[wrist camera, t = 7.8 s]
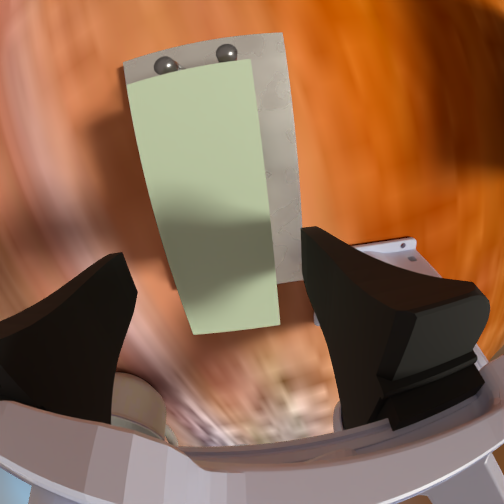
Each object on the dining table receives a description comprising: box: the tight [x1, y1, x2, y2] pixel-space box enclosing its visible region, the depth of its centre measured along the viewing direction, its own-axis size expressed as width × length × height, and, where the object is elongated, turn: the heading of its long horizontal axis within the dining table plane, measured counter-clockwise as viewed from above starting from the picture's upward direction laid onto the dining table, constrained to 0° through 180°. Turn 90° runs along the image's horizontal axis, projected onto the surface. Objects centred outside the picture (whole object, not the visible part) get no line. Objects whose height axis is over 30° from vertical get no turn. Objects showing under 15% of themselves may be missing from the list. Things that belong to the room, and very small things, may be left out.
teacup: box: [111, 372, 178, 446], centre depth 28 cm, size 14×11×8 cm
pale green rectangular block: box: [127, 59, 280, 335], centre depth 14 cm, size 4×12×6 cm, turn 7°
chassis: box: [123, 33, 304, 284], centre depth 16 cm, size 10×18×5 cm, turn 7°
